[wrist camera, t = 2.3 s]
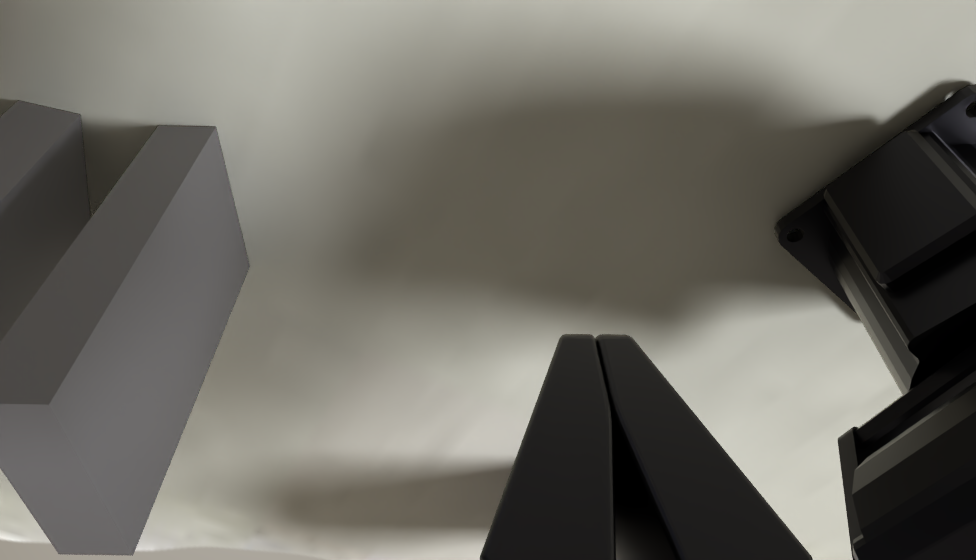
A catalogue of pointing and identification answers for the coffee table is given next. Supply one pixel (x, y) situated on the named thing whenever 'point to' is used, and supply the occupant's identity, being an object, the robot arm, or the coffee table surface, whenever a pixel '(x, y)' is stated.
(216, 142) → the domino
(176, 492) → the coffee table surface
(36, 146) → the domino
